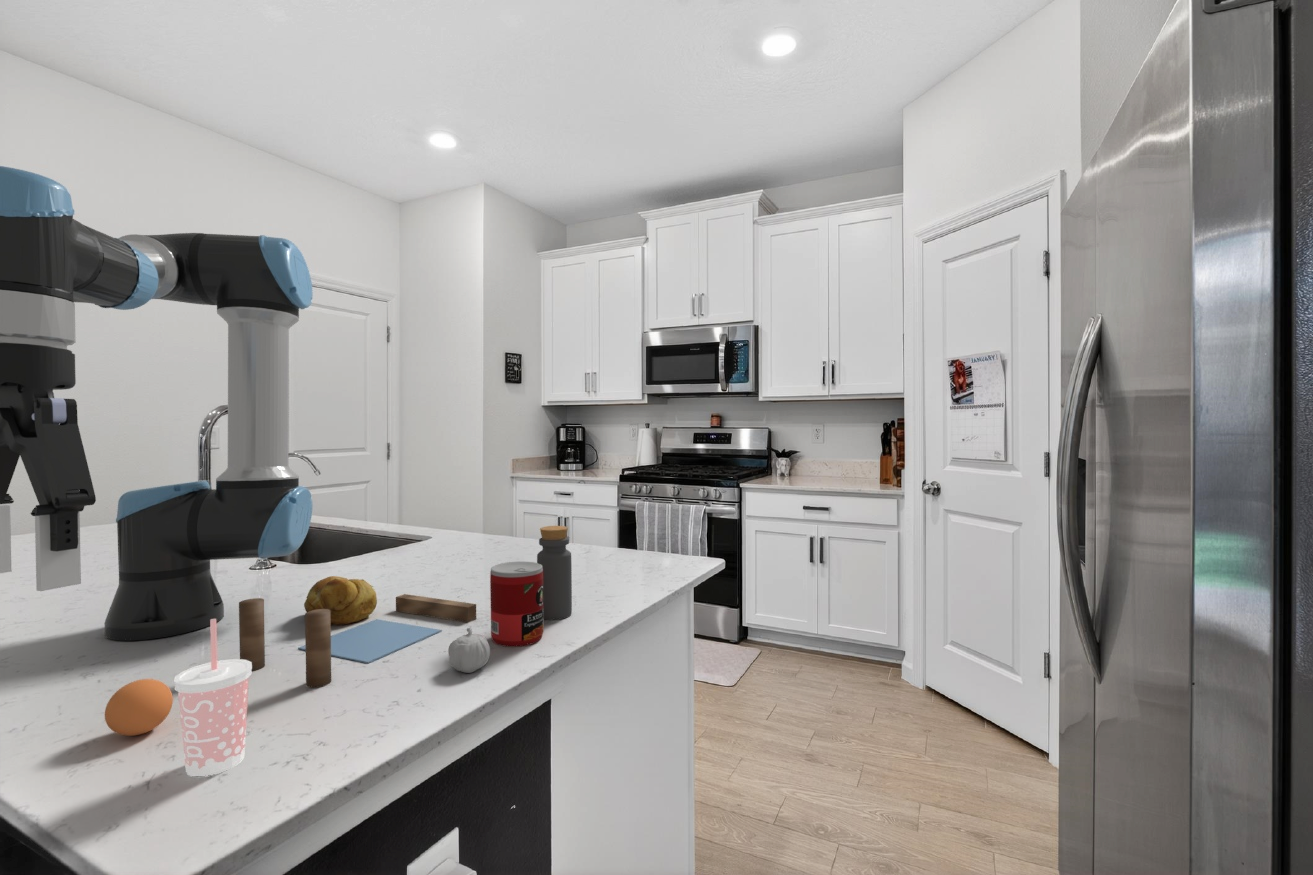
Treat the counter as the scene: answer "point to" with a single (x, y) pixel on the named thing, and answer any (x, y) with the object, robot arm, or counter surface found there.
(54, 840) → the counter surface
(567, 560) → the bottle
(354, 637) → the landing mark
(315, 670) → the right post
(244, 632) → the left post
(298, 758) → the counter surface
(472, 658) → the garlic
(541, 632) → the canned food
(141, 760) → the counter surface
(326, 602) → the bread roll
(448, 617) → the bar
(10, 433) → the robot arm
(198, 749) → the beverage cup
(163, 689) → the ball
